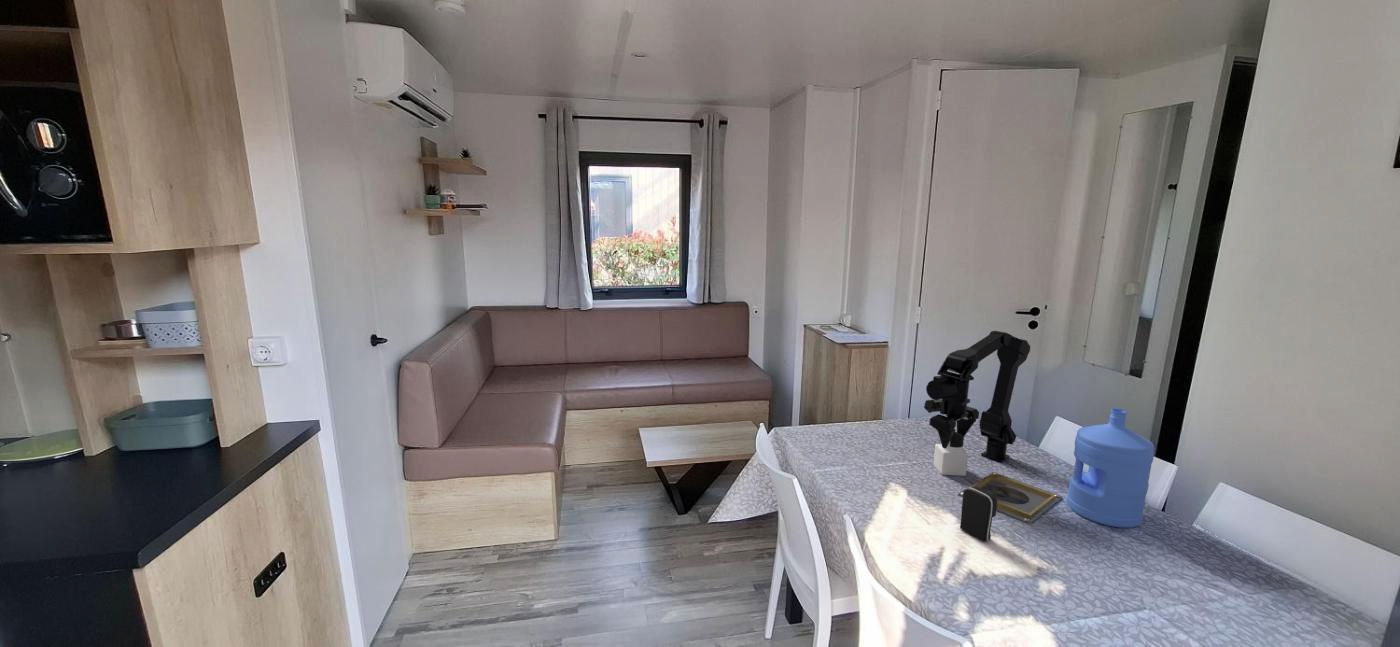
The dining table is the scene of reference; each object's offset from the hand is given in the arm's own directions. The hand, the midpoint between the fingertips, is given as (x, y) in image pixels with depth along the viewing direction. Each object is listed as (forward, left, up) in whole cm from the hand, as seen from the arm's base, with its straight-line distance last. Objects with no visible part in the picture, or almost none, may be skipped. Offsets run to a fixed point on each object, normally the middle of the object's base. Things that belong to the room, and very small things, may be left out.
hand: (951, 444), depth 153 cm
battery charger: (+28, +21, -9) cm, 36 cm away
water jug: (-9, +36, -9) cm, 38 cm away
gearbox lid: (+2, +18, -8) cm, 20 cm away
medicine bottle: (0, 0, -9) cm, 9 cm away
